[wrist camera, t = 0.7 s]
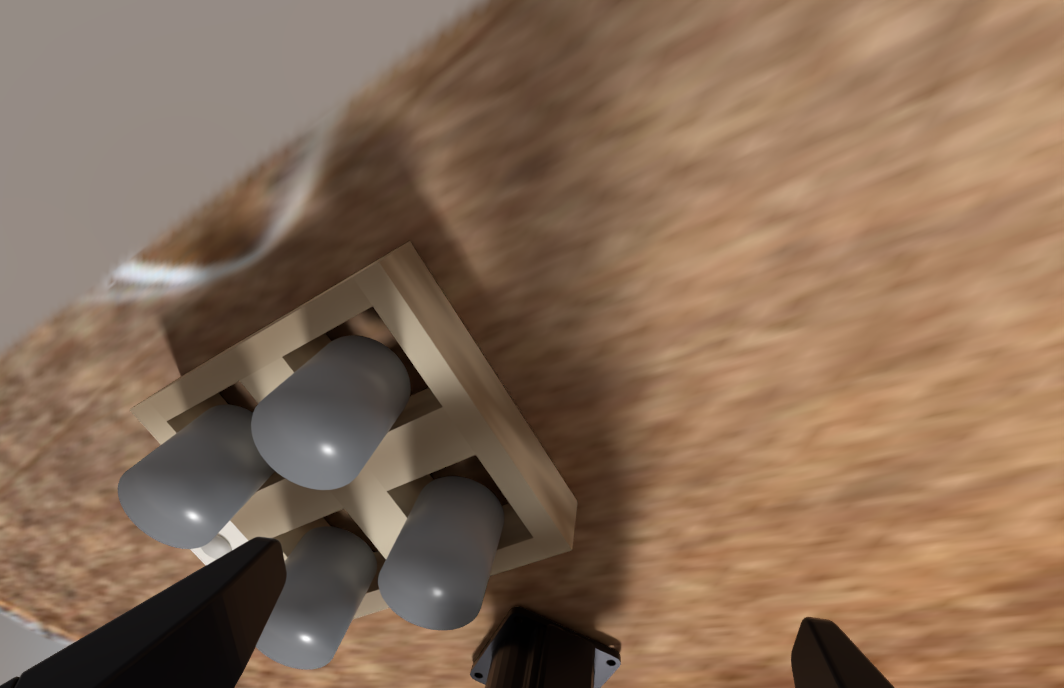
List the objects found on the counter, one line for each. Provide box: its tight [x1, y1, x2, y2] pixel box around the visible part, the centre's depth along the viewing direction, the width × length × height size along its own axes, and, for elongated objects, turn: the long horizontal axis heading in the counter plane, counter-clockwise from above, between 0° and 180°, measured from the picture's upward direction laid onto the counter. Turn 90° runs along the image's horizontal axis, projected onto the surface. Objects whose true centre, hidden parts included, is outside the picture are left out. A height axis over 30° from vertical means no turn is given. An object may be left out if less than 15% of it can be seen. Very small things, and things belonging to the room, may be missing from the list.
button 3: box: [378, 476, 505, 630], centre depth 21 cm, size 4×4×4 cm
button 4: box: [256, 526, 377, 669], centre depth 23 cm, size 4×4×4 cm
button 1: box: [251, 336, 411, 490], centre depth 19 cm, size 4×4×4 cm
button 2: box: [118, 405, 275, 549], centre depth 21 cm, size 4×4×4 cm
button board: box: [130, 241, 578, 620], centre depth 24 cm, size 14×14×3 cm
